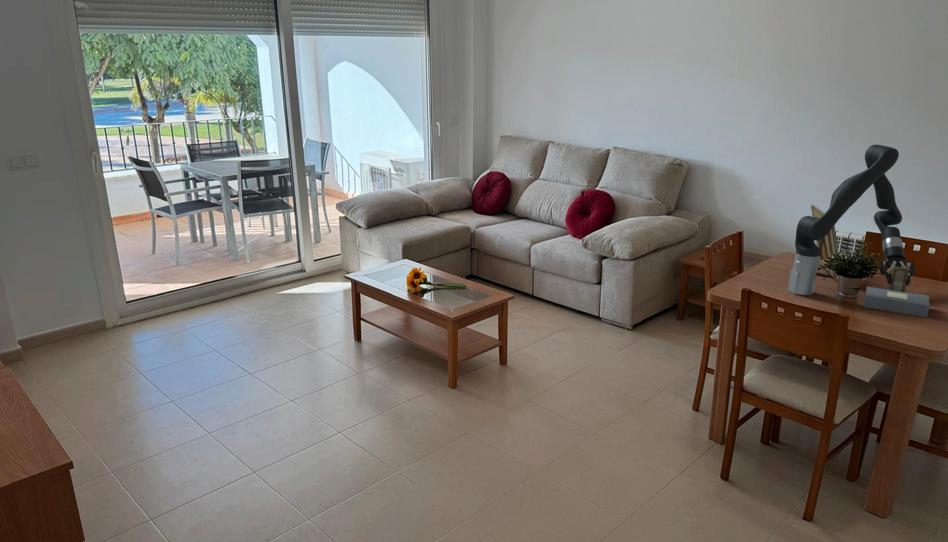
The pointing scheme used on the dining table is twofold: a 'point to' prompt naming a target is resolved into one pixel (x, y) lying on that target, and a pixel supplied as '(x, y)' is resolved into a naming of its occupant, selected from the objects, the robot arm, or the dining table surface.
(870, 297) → the display step
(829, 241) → the picture frame
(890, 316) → the dining table surface
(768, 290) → the dining table surface
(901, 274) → the walnut frame
